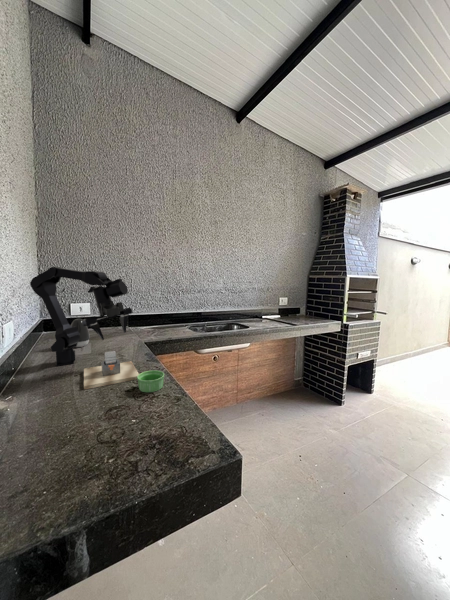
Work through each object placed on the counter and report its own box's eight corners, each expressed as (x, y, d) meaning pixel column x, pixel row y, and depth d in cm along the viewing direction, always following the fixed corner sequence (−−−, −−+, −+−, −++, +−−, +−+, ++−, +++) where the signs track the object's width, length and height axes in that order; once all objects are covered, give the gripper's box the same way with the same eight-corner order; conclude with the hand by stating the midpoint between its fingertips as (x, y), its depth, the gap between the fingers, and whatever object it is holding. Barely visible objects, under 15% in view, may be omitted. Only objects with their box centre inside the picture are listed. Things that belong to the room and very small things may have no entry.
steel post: (105, 374, 90) (105, 354, 89) (105, 370, 93) (104, 352, 92) (116, 372, 92) (116, 353, 91) (115, 369, 95) (114, 350, 94)
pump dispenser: (94, 345, 132) (93, 318, 131) (74, 349, 124) (72, 321, 122) (84, 342, 138) (83, 316, 136) (64, 346, 129) (63, 318, 128)
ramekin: (131, 390, 80) (131, 378, 80) (149, 380, 88) (149, 368, 88) (153, 395, 77) (153, 382, 76) (169, 384, 85) (169, 372, 85)
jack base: (84, 389, 80) (83, 375, 80) (84, 371, 96) (83, 359, 95) (139, 378, 89) (139, 365, 89) (131, 363, 105) (131, 352, 104)
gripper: (84, 303, 88) (96, 343, 89) (132, 292, 101) (143, 328, 102) (77, 306, 96) (88, 343, 97) (122, 296, 109) (132, 329, 110)
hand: (114, 336), depth 101 cm, fingers open, 9 cm apart
